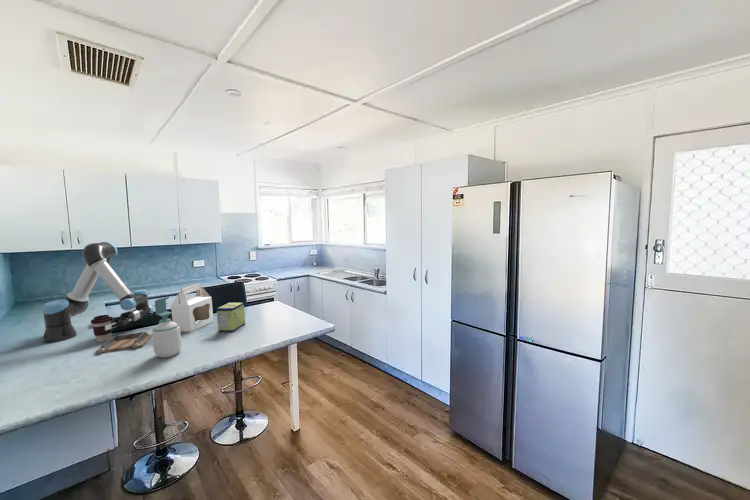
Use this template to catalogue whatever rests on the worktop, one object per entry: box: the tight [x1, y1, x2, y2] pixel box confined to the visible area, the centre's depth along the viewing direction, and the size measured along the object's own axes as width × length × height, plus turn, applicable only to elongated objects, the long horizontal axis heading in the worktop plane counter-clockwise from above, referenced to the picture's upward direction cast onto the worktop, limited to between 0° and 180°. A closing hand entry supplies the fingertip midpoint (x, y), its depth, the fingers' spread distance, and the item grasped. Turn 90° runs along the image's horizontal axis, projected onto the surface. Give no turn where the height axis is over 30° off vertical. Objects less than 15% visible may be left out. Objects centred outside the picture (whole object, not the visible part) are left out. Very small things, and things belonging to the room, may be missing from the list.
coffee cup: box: [90, 314, 113, 343], centre depth 196 cm, size 10×10×15 cm
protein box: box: [216, 301, 246, 333], centre depth 210 cm, size 10×16×16 cm
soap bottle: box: [151, 296, 182, 359], centre depth 170 cm, size 12×12×31 cm
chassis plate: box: [95, 331, 153, 354], centre depth 187 cm, size 22×21×4 cm
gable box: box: [170, 282, 214, 333], centre depth 217 cm, size 22×13×28 cm, turn 170°
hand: (96, 327), depth 192 cm, fingers open, 12 cm apart
